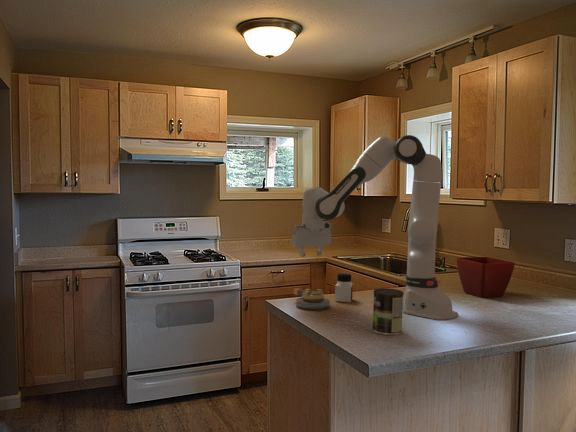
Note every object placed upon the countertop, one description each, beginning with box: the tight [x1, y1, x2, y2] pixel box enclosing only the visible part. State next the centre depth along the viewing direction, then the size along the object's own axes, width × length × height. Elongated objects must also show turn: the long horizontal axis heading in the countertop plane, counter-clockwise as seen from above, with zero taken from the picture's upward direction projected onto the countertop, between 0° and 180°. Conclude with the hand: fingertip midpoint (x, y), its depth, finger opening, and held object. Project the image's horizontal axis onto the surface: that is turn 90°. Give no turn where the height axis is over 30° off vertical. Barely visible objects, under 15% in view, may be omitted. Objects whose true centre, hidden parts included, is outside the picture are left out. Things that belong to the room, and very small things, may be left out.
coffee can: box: [372, 288, 404, 336], centre depth 174 cm, size 10×10×14 cm
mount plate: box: [295, 296, 331, 311], centre depth 208 cm, size 14×14×3 cm
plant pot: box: [456, 256, 516, 299], centre depth 238 cm, size 19×19×17 cm
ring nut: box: [293, 287, 325, 302], centre depth 211 cm, size 16×9×4 cm, turn 38°
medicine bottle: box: [334, 272, 354, 303], centre depth 220 cm, size 7×7×12 cm
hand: (311, 256), depth 217 cm, fingers open, 8 cm apart
